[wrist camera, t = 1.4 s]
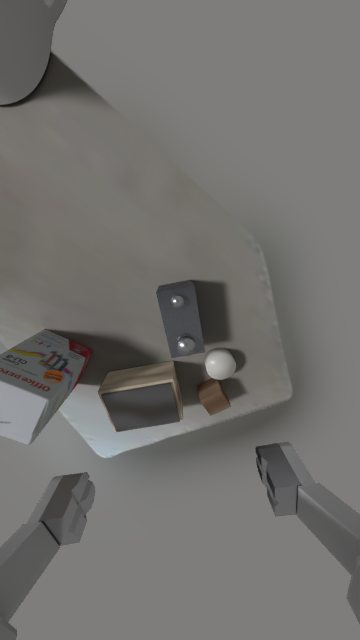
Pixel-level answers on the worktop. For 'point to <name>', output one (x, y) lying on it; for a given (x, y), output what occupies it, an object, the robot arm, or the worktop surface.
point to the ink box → (37, 382)
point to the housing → (181, 318)
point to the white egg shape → (219, 363)
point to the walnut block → (213, 396)
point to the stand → (142, 396)
